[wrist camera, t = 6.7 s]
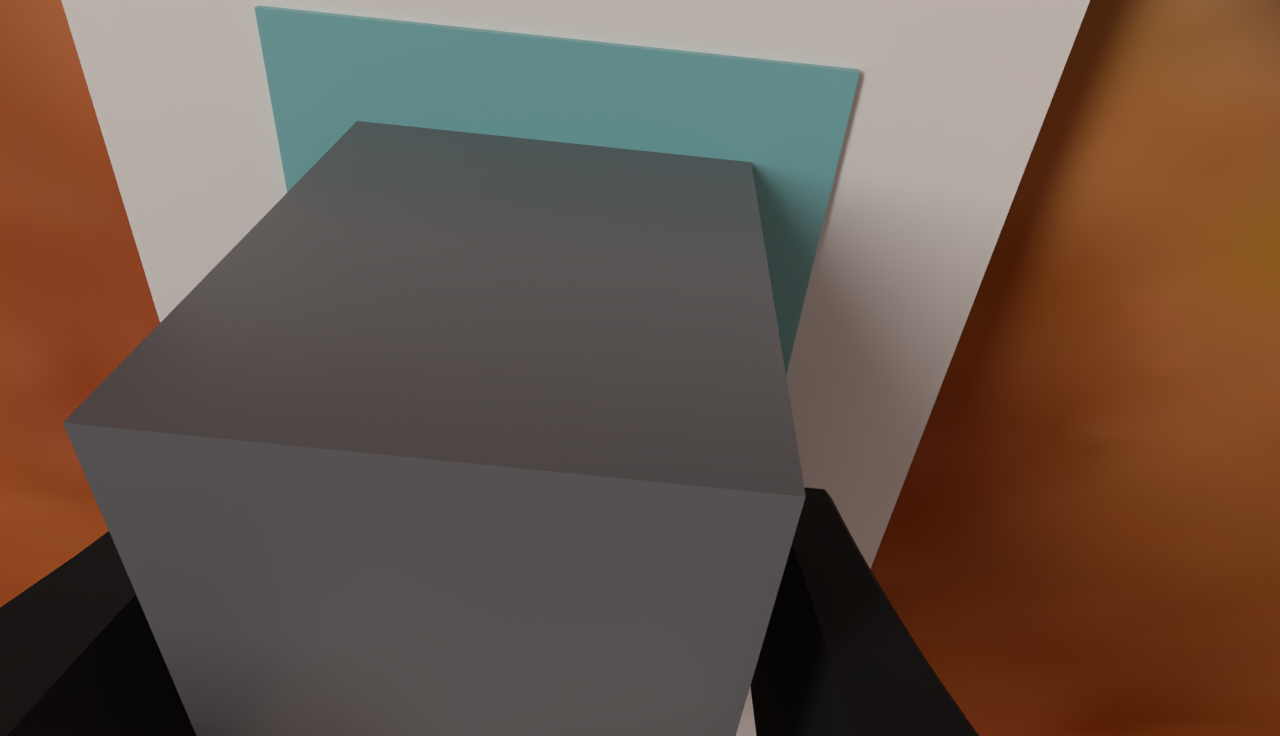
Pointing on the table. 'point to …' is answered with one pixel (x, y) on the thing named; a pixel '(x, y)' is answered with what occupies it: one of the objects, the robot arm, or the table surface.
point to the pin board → (638, 120)
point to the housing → (463, 448)
